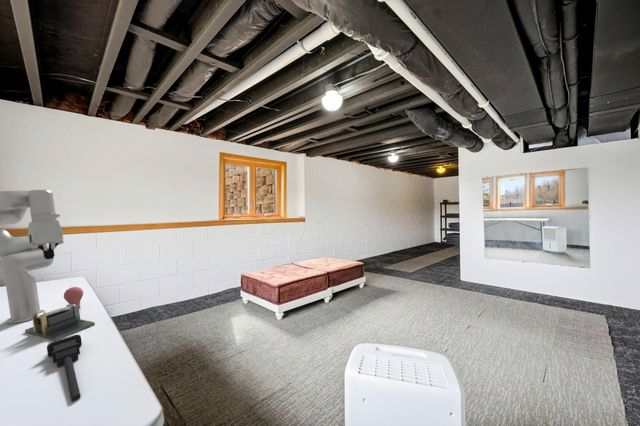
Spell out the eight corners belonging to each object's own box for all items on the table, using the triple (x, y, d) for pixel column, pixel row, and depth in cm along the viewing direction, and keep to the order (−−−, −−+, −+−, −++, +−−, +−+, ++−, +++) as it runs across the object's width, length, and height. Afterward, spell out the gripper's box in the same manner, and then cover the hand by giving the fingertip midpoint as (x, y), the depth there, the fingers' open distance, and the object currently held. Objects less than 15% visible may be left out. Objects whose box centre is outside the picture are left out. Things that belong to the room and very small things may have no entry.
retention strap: (36, 318, 107) (36, 315, 107) (73, 306, 118) (72, 303, 118) (40, 319, 106) (40, 315, 106) (76, 307, 117) (76, 304, 117)
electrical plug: (80, 341, 100) (78, 329, 100) (98, 396, 72) (96, 379, 72) (47, 352, 94) (45, 339, 93) (53, 417, 66) (51, 399, 65)
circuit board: (25, 332, 111) (22, 311, 111) (64, 318, 123) (61, 299, 122) (55, 340, 102) (51, 317, 101) (94, 324, 114) (91, 304, 113)
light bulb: (73, 314, 128) (70, 289, 127) (62, 313, 129) (58, 289, 128) (89, 307, 135) (86, 284, 134) (78, 307, 136) (75, 284, 135)
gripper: (61, 216, 125) (66, 254, 126) (15, 220, 111) (21, 262, 112) (69, 215, 122) (75, 255, 123) (24, 219, 108) (30, 263, 109)
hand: (49, 258), depth 118 cm, fingers closed
